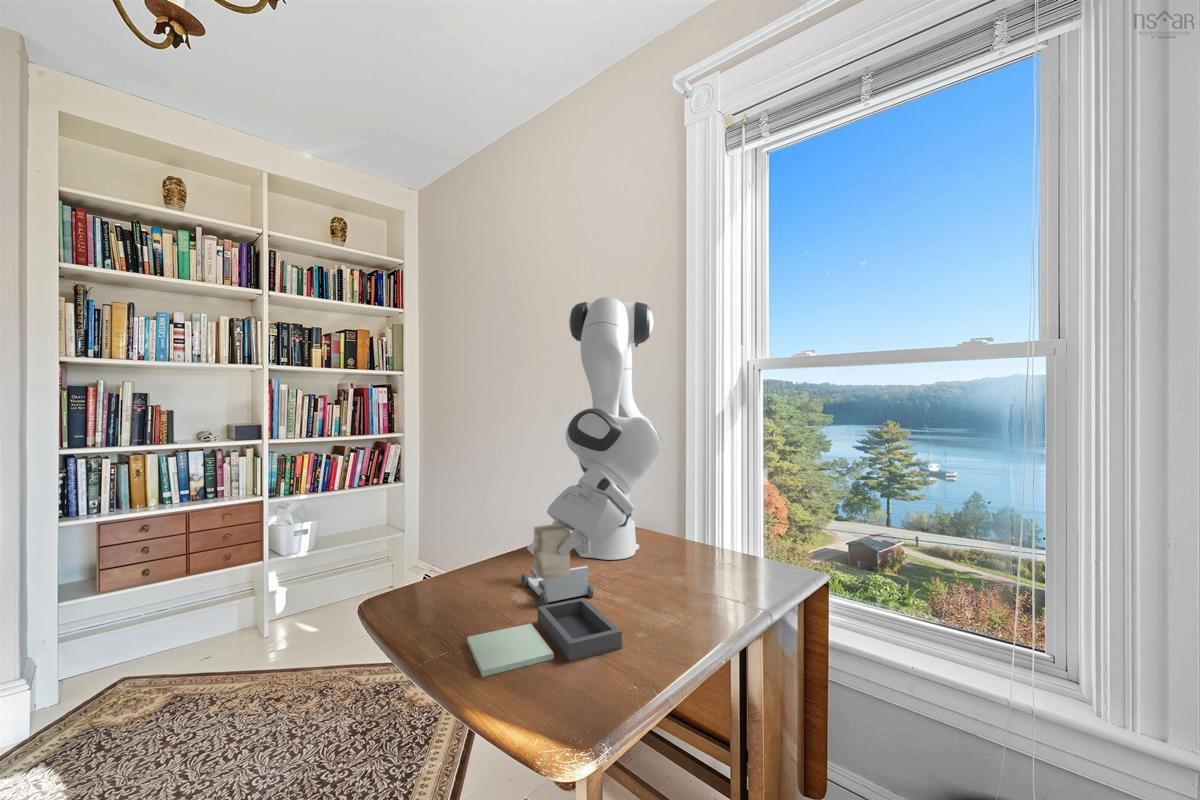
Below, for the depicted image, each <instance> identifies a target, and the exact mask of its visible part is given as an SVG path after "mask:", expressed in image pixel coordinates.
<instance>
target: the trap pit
mask: <svg viewBox="0 0 1200 800" xmlns="http://www.w3.org/2000/svg"><path fill="white" fill-rule="evenodd" d="M537 623H538V625H539V626H540V627H541V628H542V629H543V631H544V632H545V633H546V634H547V636H548V637H549V638H550V639H551V641H552V642H553V644H555V646H556V647H557V648H558V650H559V651H560V652H561V654H563V656H564V657H565V658H566V660H567V661H568V662H569V663H571V662H574V661H578V660H582V659H583V660H584V659H586V658H589V657H594V656H596V655H597V656H598V655H601V654H605V653H608V652H612V651H618V650H620V649H623V642H622V641H623V631H622V630H621V629H620V628H619V627H618V626H617V625H615V624H614V623H613V622H612V621H611V620H610V619H609V618H608V617H606V616H605V615H604V614H603V613H602V612H601V611H600V610H598V608H596V607H595V606H594V605H593V604H592V603H591V602H589V601H588V600H587V599H586V598H585V597H581V598H577V599H570V600H566V601H561V602H556V603H551V604H548V605H545V606H542V605H540V606H537Z"/></svg>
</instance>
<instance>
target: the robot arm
mask: <svg viewBox="0 0 1200 800" xmlns="http://www.w3.org/2000/svg"><path fill="white" fill-rule="evenodd" d="M654 323H655V322H654V316H653V312H652V310H651V307H650V306H649V305H648V304H646V303H644V302H641V301H640V302H639V301H636V302H631V301H623V300H619V299H617V298H616V297H611V296H603V297H602V296H601V297H599V298H597V299H595V300H594V301H593V302H587V301H585V302H579V303H577V304H575V305H574V306H573V307H572V309H571V311H570V314H569V318H568V326H569V327H568V328H569V331H570V333H571V336H572V338H574V340H575V341H578V342H580V345H579V347H580V357H581V363H582V368H583V370H584V374H585V376H586V379H587V381H588V385H589V390H590V393H591V399H592V408H586V409H584V410H581V411H579V412H578V413H577V414H575V415H574V416H573V418H572V419H571V420H570V422H569V423H568V425H567V428H566V430H565V442H566V444H567V447H568V448H569V449H570V451H571V452H573V453H574V454H575V455H576V457H577V459H578V461H579V465H580V468H581V470H582V472H583V473H584V474H583V475H582V476H581V477H580V478H579V479H578V484H574V485H570V486H568V487H567V488H565V489H564V490H563V491H562V492H561V493H560V494H559V495H558V496H557V497H556V498H555V499H554V500H553V501H552V502H551V503H550V505H549V506H548V508H547V511H546V513H547V514H548V516H550V517H551V518H552V519H553V521H552V522H551V525H553V524H561V525H562V526H564V527H566V528H568V529H569V530H570V531H571V532H570V537H569V538H567V539H566V540H565V541H564V542H563V541H561V543H560V544H559V545H558V546H557V551H558V552H559V553H561V554H562V555H563V556H566V555H567V554H568V553H569V552H570V553H571V551H572V550H575V551H576V553H577V555H578V556H579V557H581V558H587V559H588V558H591V559H599V560H611V561H613V560H624V559H628V558H630V557H633V556H634V555H636V552H637V551H638V550H639V549H640V544H638V543H637V542H636V541H637V539H636V528H635V520H633V519H632V518H631V517H632V512H633V511H634V509H635V505H634V504H633V502H632V501H631V499H630V498H631V497H630V496H631V490H632V488H633V486H634V484H635V483H636V482H637V480H639V479H640V478H642V477H643V476H644V475H645V473H646V472H647V471H648V470H649V468H650V467H651V465H652V464H653V462H654V461H655V459H656V458H657V456H658V454H659V453H660V450H661V448H662V439H661V437H660V433H659V432H658V431H657V429H656V427H655V426H654V425H653V423H652V421H650V420H649V419H648V418H647V417H646V416H644V415H643V414H642V412H641V411H640V410H639V408H638V407H637V404H636V402H635V400H634V394H633V353H632V352H633V351H632V345H631V343H632V344H634V346H635V348H638V346H639V345H640V344H642V343H644V342H646V341H647V340H649V338H650V335H651V334H652V332H653V329H654Z"/></svg>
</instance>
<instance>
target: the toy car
mask: <svg viewBox="0 0 1200 800" xmlns="http://www.w3.org/2000/svg"><path fill="white" fill-rule="evenodd" d="M527 551H529V553H530V554H531V555H533V556H534V540H532V543H530V544H528V546H527ZM529 570H530V571H529V572H530V575H532V576H530V577H528V574H527V573H522V574H521V577H520V580H521V584H522V583H523V585H524V586H527V587H528V586H529V587H530V588H531V589H532V590H533V591H534V592H535V593H536V594H537V595H538V596H539V604H540V606H545V605H549V603H552V602H557V601H561V600H566V599H571V598H576V597H581V596H585V597H587V598H589V599H591V598H593V597H594V588H593V585H592V584H591V583H589V566H588V565H584V566H578V567H570V575H568V576H562V577H556V578H551V579H545V580H543V579H542V578H541V577H540V576H539V575H538V574H537V573H536V572H534V567H533V568H530V569H529ZM523 585H522V586H523ZM524 586H523V587H524Z"/></svg>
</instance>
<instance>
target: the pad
mask: <svg viewBox="0 0 1200 800" xmlns="http://www.w3.org/2000/svg"><path fill="white" fill-rule="evenodd" d="M467 642H468V643H467ZM466 643H467V646H468V645H469V646H468V648H469V647H470V648H469V650H470V649H471V650H470V652H472V653H471V655H472V654H473V655H472V657H473V659H474V661H475V664H476V666H477V668H478V671H479V673H480V675H481V678H483V677H489V676H492V675H495V674H501V673H504V672H508V671H511V670H515V669H520V668H523V667H528V666H531V665H536V664H539V663H543V662H548V661H551V660H554V659H555V655H554V654H555V653H554V651H553V650H552V649H551V647H550V646H549V644H548V643H547V642H546V640H544V638H543V637H542V635H540V633H539V632H538V630H537V629H536V627H534V625H533V624H532V622H531V623H527V624H523V625H522V624H521V625H518V626H512V627H508V628H503V629H499V630H494V631H489V632H484V633H479V634H476V635H470V636H467V637H466Z"/></svg>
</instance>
